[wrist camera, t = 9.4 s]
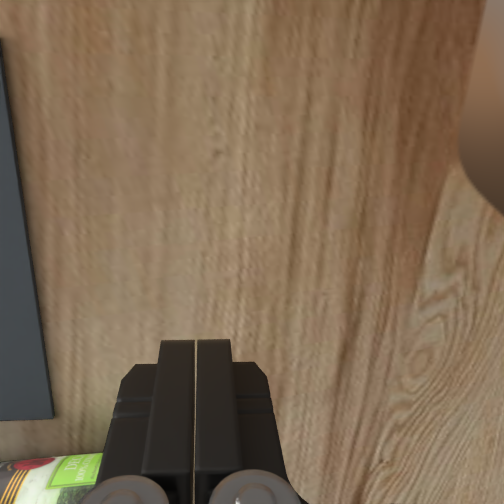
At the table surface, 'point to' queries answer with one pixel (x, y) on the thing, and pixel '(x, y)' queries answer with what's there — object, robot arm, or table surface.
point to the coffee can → (48, 479)
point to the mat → (18, 292)
